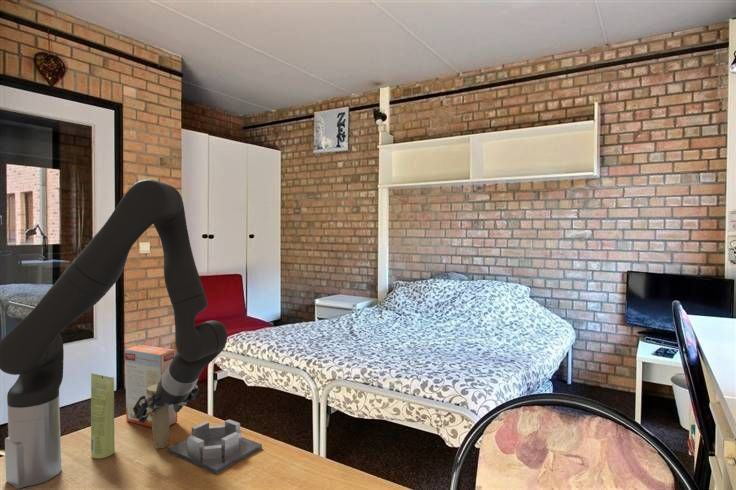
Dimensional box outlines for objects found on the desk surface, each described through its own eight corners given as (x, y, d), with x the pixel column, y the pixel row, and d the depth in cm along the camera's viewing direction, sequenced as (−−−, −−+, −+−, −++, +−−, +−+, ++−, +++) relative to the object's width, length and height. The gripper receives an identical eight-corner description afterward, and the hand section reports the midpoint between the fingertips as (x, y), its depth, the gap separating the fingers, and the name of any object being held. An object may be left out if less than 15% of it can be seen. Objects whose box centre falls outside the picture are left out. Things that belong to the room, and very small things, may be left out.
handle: (165, 452, 112) (164, 392, 111) (143, 448, 113) (142, 389, 113) (178, 443, 116) (177, 385, 116) (157, 440, 118) (156, 383, 117)
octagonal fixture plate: (216, 474, 102) (215, 452, 102) (167, 452, 112) (167, 432, 112) (261, 448, 114) (261, 428, 114) (214, 430, 124) (213, 412, 123)
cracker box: (178, 422, 129) (177, 349, 128) (161, 431, 123) (159, 354, 122) (143, 413, 134) (142, 343, 133) (125, 421, 129) (123, 348, 128)
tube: (119, 447, 114) (117, 370, 113) (115, 457, 110) (113, 377, 108) (93, 451, 112) (91, 372, 111) (88, 461, 108) (86, 379, 107)
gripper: (201, 360, 114) (181, 393, 122) (142, 374, 103) (124, 409, 112) (212, 386, 111) (191, 418, 119) (152, 403, 100) (133, 437, 108)
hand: (158, 414), depth 115 cm, fingers open, 8 cm apart
